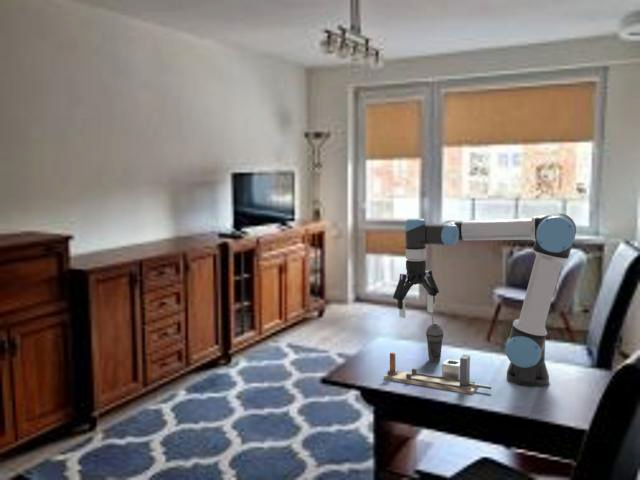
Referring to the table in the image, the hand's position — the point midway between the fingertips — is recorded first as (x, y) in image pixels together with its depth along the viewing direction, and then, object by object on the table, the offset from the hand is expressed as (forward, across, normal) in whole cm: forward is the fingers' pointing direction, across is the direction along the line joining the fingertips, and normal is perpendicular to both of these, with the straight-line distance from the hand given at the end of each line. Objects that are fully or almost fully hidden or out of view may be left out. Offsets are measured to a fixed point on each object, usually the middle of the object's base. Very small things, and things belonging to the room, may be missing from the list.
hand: (416, 314), depth 220 cm
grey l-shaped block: (+24, -9, +22) cm, 33 cm away
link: (+25, -11, +8) cm, 28 cm away
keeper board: (+25, 0, +7) cm, 26 cm away
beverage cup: (+25, -18, -11) cm, 33 cm away
